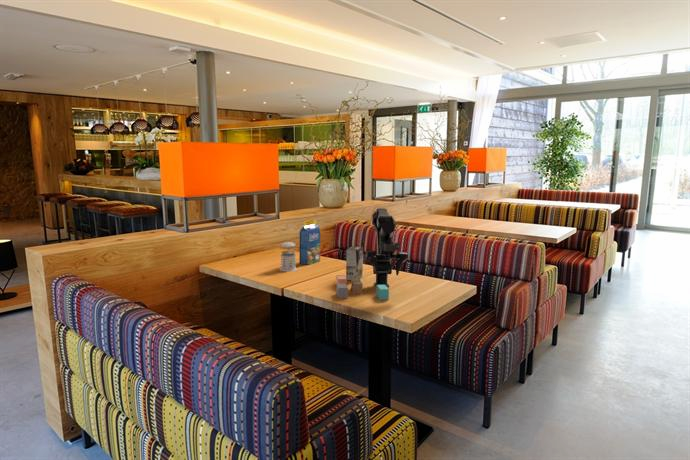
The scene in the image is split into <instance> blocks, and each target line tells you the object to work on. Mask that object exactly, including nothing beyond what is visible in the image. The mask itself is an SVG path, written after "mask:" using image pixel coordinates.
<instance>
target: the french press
mask: <svg viewBox="0 0 690 460" xmlns="http://www.w3.org/2000/svg"><path fill="white" fill-rule="evenodd" d="M290 227H291V226H290V224H286V228H290ZM295 246H296V243H294V242H292V241H285V242H282V243H281V244H280V247H283V248H288V250H283V251H281V253H282V254H281V255H280V258H281V259H280V260H281V261H280V263H281V264H280V265H281V267H280V268H279V271H281V272H295V271H297V270H298V268H297V267H296V254H295V251H294V249H293V248H294V247H295ZM289 248H291V250H290V249H289Z"/></svg>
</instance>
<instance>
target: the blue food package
mask: <svg viewBox="0 0 690 460" xmlns="http://www.w3.org/2000/svg"><path fill="white" fill-rule="evenodd" d="M299 230H300V231H299V264H302V265H308V266H309V265H312V264H314V263H315V264H316V263H318V262H320V261H321V229H320V226H318V224H317V219H311V220H305V221H303V226H302V227H301V229H299Z"/></svg>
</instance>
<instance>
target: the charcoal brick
mask: <svg viewBox="0 0 690 460" xmlns="http://www.w3.org/2000/svg"><path fill="white" fill-rule="evenodd" d="M335 286H336V288H335V289H336V290H335V291H336V296H337V298H338V299H341V300H342V299H348V292H349V291H348V285H347V286H346V284H345V283H340V284H337V285H335Z"/></svg>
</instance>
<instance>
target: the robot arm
mask: <svg viewBox="0 0 690 460" xmlns="http://www.w3.org/2000/svg"><path fill="white" fill-rule="evenodd" d="M371 216H372V217H371V225H372V227H373V228H372V229H373V230H374V231H375V233H376V248H377V250H367V252H366V253H365V255H364V260H366V261H367V262H369V263H370V264H371V266H372V272H373V275H375V282H373V285H374V286H375V287H376V288H377V285H386V286H387V287H388V288H389V287H390V285H389V284H388V277H389V275H392V273H393V266H394V265H393V264H392V261H391V259H392V260H393V259H395V260H396V261H395V276H398V275H399V272H400V269H401V266H402V265H403V264H404V263H405V262H406V261H408V260H409V253H407V252H401V251H400V250H401V243H400V242H395V243H394V242H393V236H394V232H395V229H396V226H397V223H396V220H395V218H394V217H393V215H391V214H389V212H388V210H387V208H380V207H379V208H377V209H376V210H375V211H374V213H373V214H371ZM397 251H400V252H398V253H397V254H396V252H397Z"/></svg>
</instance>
